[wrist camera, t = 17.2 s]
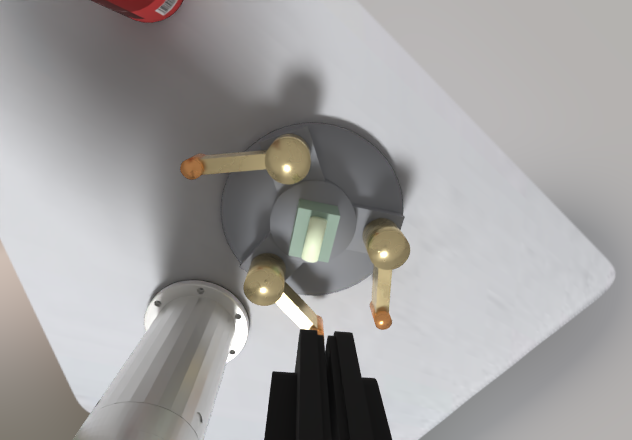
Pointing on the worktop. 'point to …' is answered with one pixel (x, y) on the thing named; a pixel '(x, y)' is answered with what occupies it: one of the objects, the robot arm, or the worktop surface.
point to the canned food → (143, 8)
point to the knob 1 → (257, 161)
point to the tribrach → (313, 210)
